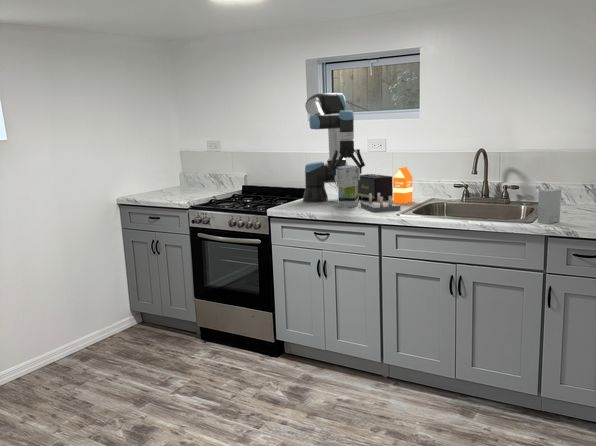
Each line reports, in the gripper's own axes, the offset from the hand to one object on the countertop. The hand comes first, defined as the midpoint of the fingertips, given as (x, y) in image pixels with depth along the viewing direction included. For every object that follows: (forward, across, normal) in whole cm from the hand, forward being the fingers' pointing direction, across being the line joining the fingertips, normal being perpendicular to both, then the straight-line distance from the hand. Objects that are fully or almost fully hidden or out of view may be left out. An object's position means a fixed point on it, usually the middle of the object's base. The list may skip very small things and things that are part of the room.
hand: (347, 180), depth 298 cm
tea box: (+16, +6, +15) cm, 23 cm away
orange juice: (+16, +38, +11) cm, 43 cm away
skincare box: (+15, +69, -74) cm, 102 cm away
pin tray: (+16, +17, -5) cm, 24 cm away
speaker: (+17, +27, +29) cm, 43 cm away
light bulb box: (+3, 0, 0) cm, 3 cm away
